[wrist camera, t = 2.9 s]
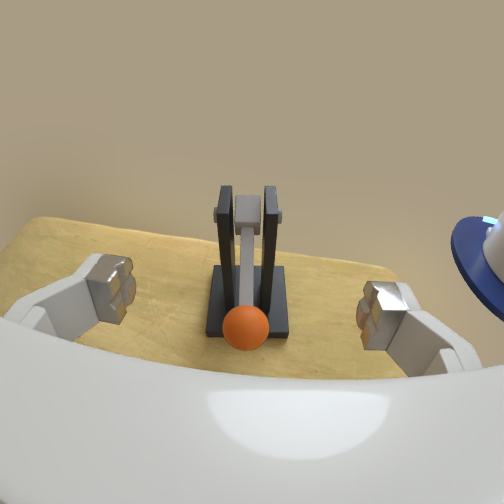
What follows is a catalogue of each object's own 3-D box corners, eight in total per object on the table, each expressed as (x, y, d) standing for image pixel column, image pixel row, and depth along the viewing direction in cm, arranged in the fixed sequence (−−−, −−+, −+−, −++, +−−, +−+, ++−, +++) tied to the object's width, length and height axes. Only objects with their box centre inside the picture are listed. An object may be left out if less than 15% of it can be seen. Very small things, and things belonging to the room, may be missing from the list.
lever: (267, 352, 23) (270, 348, 20) (223, 351, 23) (219, 347, 20) (266, 212, 29) (268, 191, 25) (229, 212, 29) (227, 190, 25)
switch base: (287, 338, 32) (307, 237, 22) (207, 336, 32) (185, 236, 22) (282, 271, 39) (293, 172, 29) (214, 271, 39) (204, 171, 29)
